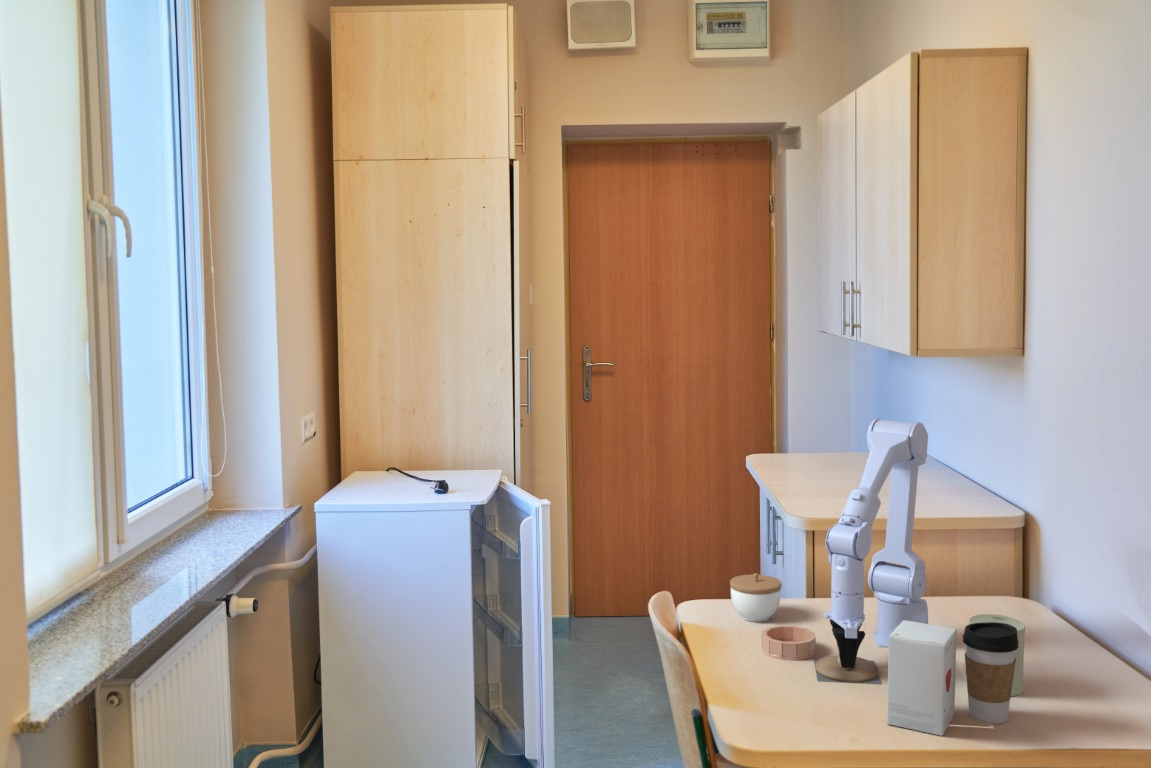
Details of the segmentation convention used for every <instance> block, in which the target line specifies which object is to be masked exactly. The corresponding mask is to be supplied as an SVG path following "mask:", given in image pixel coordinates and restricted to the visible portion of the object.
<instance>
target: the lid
mask: <svg viewBox="0 0 1151 768" xmlns="http://www.w3.org/2000/svg"><path fill="white" fill-rule="evenodd" d="M871 661H872V660H868V659H866V658H862V657H859V656H857V657H856V662H855V665H854V668H842V666H841V662H840V656H839V649H838V648H837V655H828V656H824V657H821V658H820V659H819V660H818V661H817V662H816V670H815V672H816V671H817V673H818V674H820V675H821V676H823V677H825V678H828V679H831V680H835V681H840V682H839V683H841V682H849V683H848V684H859V683H858V682H866V681H870V680H873V679H874V678H876V677H877V676H878V674H879V667H878V666H877V664H876V663H875V664H874V663H873V662H871Z"/></svg>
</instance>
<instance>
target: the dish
mask: <svg viewBox="0 0 1151 768" xmlns="http://www.w3.org/2000/svg"><path fill="white" fill-rule="evenodd" d="M815 633H816V632H815V631H812V630H810V629H808V628H806V627H801V626H797V625H787V624H785V625H784V624H781V625H780V624H779V625H773V626H768V627H767V628H765V629H762V630H761V651H762V653H763V654H764V655H766V656H767V657H770V658H772V659H775V660H780V661H804V660H809V659H811V658H812V657H814V656H815V654H816V650H817V649H816V646H817V645H816V640H817V639H816V638H817V637H816V634H815Z"/></svg>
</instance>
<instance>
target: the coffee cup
mask: <svg viewBox="0 0 1151 768" xmlns="http://www.w3.org/2000/svg"><path fill="white" fill-rule="evenodd" d="M962 642H963V644H965V652H964V662H965V675H966V686H967V687H966V690H967V699H968V701H967V703H968V714H969V715H970V716H971V717H972V718H974V719H977V720H979V721H982V722H988V723H989V724H990V725H1000V724H1003V723H1007V722H1008V719H1009V714H1010V713H1009V711H1010V702H1011V697H1012V696H1011V691H1012V684H1013V676H1014V669H1015V662H1016V659H1015V651H1016V650H1017V649H1018V647H1019V646H1018V644H1019V641H1018V636H1017V629H1016V628H1015V627H1013V626H1012V625H1009V624H1005V623H997V622H982V623H973V624H969V623H968V624H967V625H965V627H964V633H963V635H962Z"/></svg>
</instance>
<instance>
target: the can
mask: <svg viewBox="0 0 1151 768" xmlns="http://www.w3.org/2000/svg"><path fill="white" fill-rule="evenodd" d="M982 622H997V623H1005V624H1009V625H1012V626H1013V627H1015V628H1016V629H1017V636H1018V641H1019V644H1018V646H1019V647H1018V649H1017V650H1016V651H1015V659H1016V662H1015V669H1014V676H1013V684H1012V691H1011V697H1016V696H1019V695H1021V694H1022V693H1023V692H1024V690H1025V687H1024V658H1025V657H1024V656H1025V655H1024V654H1025V636H1026V635H1025V634H1026V633H1025V632H1026V624H1025V623H1024V622H1023V621H1021V620H1019V619H1018V618H1014V617H1011V616H1006V615H1002V614H992V613H991V614H990V613H985V614H978V615H974V616H973V615H972V616H970V618H969V619H968V625H969V624H973V623H982Z"/></svg>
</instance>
